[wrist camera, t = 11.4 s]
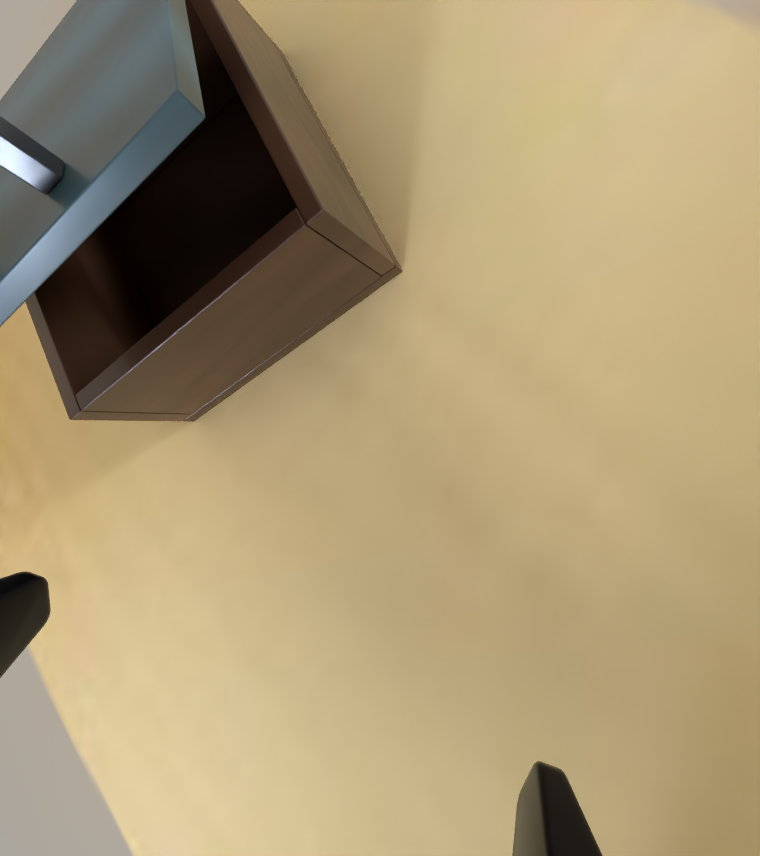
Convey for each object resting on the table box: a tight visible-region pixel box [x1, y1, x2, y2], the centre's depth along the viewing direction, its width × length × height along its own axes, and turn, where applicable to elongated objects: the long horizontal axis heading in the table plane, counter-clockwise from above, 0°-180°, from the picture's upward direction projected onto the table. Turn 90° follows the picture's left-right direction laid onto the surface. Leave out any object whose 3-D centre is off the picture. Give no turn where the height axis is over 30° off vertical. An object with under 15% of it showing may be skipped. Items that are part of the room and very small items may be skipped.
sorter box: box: [25, 0, 402, 421], centre depth 21 cm, size 12×12×6 cm
